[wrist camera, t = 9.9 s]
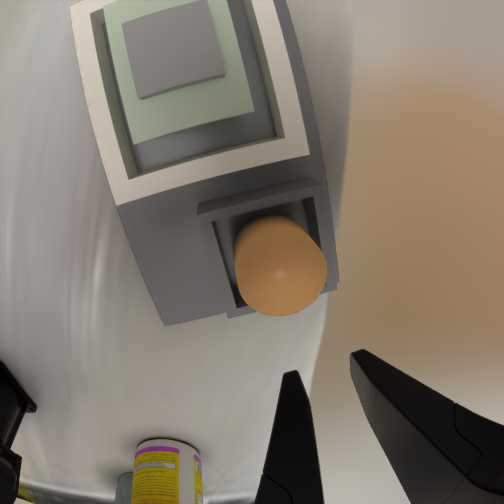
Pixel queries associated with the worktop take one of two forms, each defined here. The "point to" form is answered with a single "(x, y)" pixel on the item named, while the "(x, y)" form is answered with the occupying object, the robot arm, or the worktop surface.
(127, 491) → the drinking glass
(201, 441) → the worktop surface
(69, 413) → the worktop surface
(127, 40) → the pale green block
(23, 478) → the worktop surface
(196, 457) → the supplement bottle
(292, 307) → the click button
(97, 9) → the chassis
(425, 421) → the robot arm
